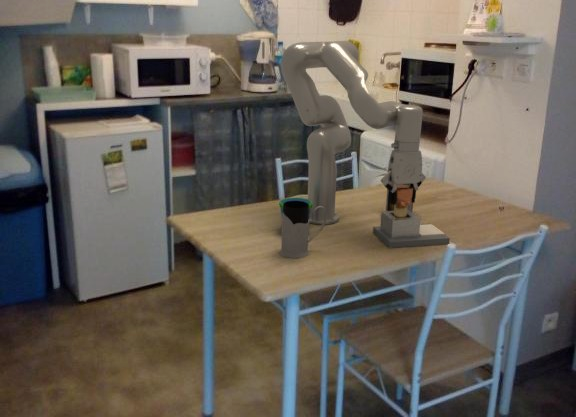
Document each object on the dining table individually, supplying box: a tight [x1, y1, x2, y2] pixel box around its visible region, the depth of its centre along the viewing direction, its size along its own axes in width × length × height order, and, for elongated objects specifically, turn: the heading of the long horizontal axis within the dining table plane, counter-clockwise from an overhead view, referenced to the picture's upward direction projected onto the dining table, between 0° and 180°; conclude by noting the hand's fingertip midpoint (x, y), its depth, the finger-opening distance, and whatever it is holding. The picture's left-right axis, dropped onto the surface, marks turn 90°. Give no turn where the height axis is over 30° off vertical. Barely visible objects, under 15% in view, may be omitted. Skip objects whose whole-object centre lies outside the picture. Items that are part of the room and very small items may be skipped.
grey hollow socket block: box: [379, 210, 421, 239], centre depth 196 cm, size 9×9×6 cm
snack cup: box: [278, 197, 313, 220], centre depth 200 cm, size 16×10×10 cm
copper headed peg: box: [392, 184, 413, 218], centre depth 195 cm, size 6×6×15 cm
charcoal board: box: [372, 223, 451, 249], centre depth 198 cm, size 20×14×2 cm
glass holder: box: [279, 201, 327, 259], centre depth 183 cm, size 9×14×15 cm, turn 111°
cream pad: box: [419, 223, 446, 237], centre depth 199 cm, size 8×9×1 cm
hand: (401, 202), depth 194 cm, fingers closed on copper headed peg, 6 cm apart
